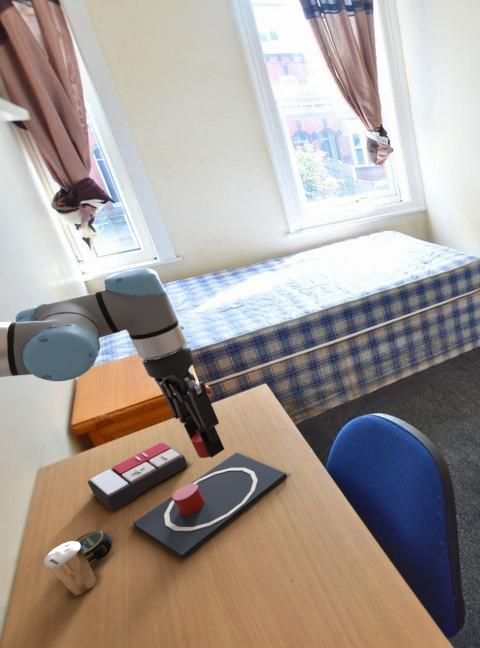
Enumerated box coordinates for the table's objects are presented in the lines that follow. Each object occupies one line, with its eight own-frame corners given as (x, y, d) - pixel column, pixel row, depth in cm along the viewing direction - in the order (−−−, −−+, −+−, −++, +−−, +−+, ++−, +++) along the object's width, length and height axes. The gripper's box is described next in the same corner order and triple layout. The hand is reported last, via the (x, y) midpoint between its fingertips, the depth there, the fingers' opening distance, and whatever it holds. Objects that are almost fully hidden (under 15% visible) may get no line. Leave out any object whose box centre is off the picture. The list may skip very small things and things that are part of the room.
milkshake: (62, 608, 78) (32, 566, 74) (72, 582, 82) (44, 542, 78) (96, 594, 80) (68, 553, 76) (104, 570, 84) (78, 529, 80)
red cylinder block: (187, 518, 92) (179, 503, 91) (175, 511, 94) (167, 496, 93) (209, 502, 96) (202, 487, 94) (197, 495, 98) (190, 481, 96)
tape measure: (65, 563, 86) (55, 548, 85) (110, 536, 91) (101, 522, 90) (74, 582, 82) (64, 567, 81) (120, 553, 87) (111, 538, 86)
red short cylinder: (206, 460, 93) (198, 444, 92) (193, 454, 95) (186, 439, 94) (226, 446, 97) (220, 431, 95) (214, 441, 99) (207, 426, 97)
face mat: (183, 559, 85) (181, 555, 84) (134, 526, 93) (132, 522, 93) (287, 476, 102) (285, 472, 101) (237, 455, 110) (236, 452, 110)
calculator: (183, 452, 107) (105, 495, 96) (189, 468, 109) (113, 511, 97) (162, 439, 113) (85, 478, 101) (167, 454, 115) (92, 493, 103)
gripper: (211, 348, 86) (252, 448, 95) (161, 335, 94) (204, 429, 103) (168, 368, 80) (216, 473, 89) (119, 352, 88) (168, 450, 97)
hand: (209, 449), depth 96 cm, fingers closed on red short cylinder, 4 cm apart
